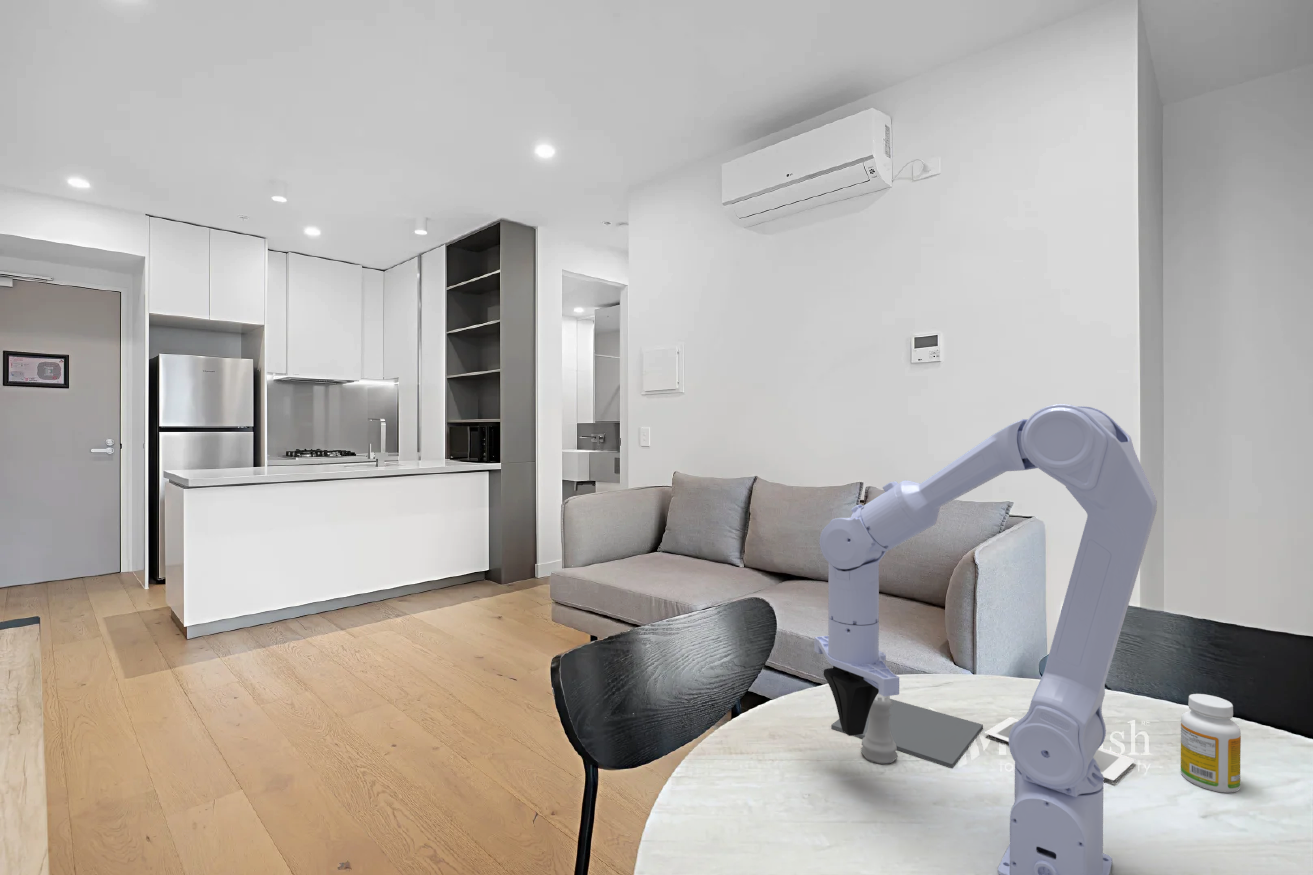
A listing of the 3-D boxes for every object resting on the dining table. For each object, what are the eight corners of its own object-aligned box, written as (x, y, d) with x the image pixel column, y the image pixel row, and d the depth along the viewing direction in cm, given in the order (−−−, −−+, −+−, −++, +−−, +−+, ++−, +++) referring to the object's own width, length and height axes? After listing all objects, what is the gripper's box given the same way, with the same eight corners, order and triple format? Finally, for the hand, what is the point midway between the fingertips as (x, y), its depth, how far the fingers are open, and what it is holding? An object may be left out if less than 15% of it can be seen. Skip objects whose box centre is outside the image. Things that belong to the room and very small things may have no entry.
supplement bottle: (1223, 772, 78) (1224, 693, 78) (1251, 797, 73) (1252, 712, 73) (1171, 766, 79) (1172, 688, 79) (1194, 790, 74) (1195, 706, 74)
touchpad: (1113, 789, 75) (1113, 771, 75) (983, 740, 87) (984, 724, 87) (1136, 768, 80) (1136, 750, 80) (1010, 724, 92) (1010, 709, 92)
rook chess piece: (857, 759, 81) (858, 697, 81) (864, 744, 85) (864, 684, 85) (895, 768, 79) (895, 704, 79) (899, 752, 83) (900, 690, 83)
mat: (952, 768, 79) (952, 764, 79) (831, 728, 90) (831, 724, 90) (982, 728, 90) (983, 724, 90) (871, 696, 100) (871, 693, 100)
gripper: (923, 634, 70) (922, 757, 70) (848, 599, 84) (847, 702, 84) (867, 640, 68) (866, 766, 68) (799, 604, 82) (799, 709, 82)
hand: (852, 732), depth 76 cm, fingers closed
